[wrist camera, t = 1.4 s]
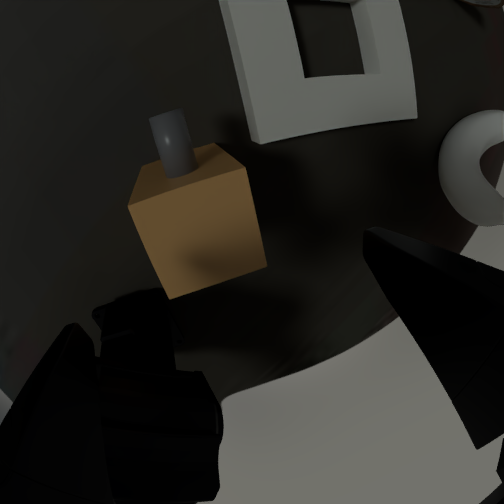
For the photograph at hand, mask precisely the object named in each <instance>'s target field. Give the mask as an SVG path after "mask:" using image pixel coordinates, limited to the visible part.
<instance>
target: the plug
mask: <svg viewBox="0 0 504 504" xmlns="http://www.w3.org/2000/svg"><path fill="white" fill-rule="evenodd" d="M149 121H150V125H151V128H152V132H153V135H154V139H155V142H156V145H157V149H158V152H159V155H160V158H161V160H158V161H155V162H152V163H150V164H147V165H144V166H142V168H141V171H140V173H139V176H138V179H137V181H136V184H135V187H134V190H133V192H132V195H131V198H130V201H129V204H128V208H129V211H130V213H131V216H132V218H133V221H134V223H135V225H136V228H137V230H138V233H139V235H140V237H141V240H142V242H143V244H144V246H145V249H146V251H147V253H148V256H149V258H150V260H151V262H152V264H153V266H154V269H155V271H156V273H157V275H158V277H159V279H160V281H161V283H162V286H163V288H164V290H165V292H166V294H167V296H168V298H169V300H170V299H173V298H176V297H179V296H182V295H185V294H188V293H191V292H194V291H197V290H200V289H203V288H206V287H209V286H212V285H215V284H218V283H221V282H224V281H226V280H229V279H232V278H235V277H238V276H241V275H244V274H247V273H250V272H253V271H256V270H258V269H261V268H264V267H267V263H266V258H265V253H264V249H263V244H262V239H261V235H260V230H259V226H258V221H257V216H256V212H255V207H254V203H253V198H252V194H251V189H250V185H249V180H248V176H247V171H246V167H244V166H243V165H242V164H241V163H239V162H238V161H237V160H236V159H234V158H233V157H232V156H231V155H229V154H228V153H227V152H225V151H224V150H223V149H222V148H220V147H219V146H218V145H216V144H215V143H212V144H209V145H205V146H202V147H198V148H195V149H193V146H192V142H191V139H190V135H189V131H188V128H187V124H186V120H185V116H184V113H183V109H182V108H180V109H176V110H173V111H169V112H166V113H163V114H160V115H157V116H154V117H151V118H149Z"/></svg>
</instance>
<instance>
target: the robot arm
mask: <svg viewBox="0 0 504 504" xmlns="http://www.w3.org/2000/svg"><path fill="white" fill-rule="evenodd" d="M363 256H364V259H365V261H366V263H367V264H368V266H369V268H370V269H371V271H372V273H373V275H374V276H375V278H376V280H377V282H378V283H379V285H380V287H381V289H382V291H383V292H384V294H385V296H386V297H387V299H388V300H389V302H390V303H391V305H392V306H393V308H394V309H395V311H396V312H397V314H398V315H399V317H400V318H401V320H402V321H403V323H404V324H405V326H406V327H407V329H408V330H409V332H410V333H411V335H412V336H413V338H414V339H415V341H416V342H417V344H418V346H419V347H420V349H421V350H422V352H423V353H424V355H425V356H426V358H427V360H428V361H429V363H430V365H431V367H432V368H433V370H434V371H435V373H436V375H437V377H438V378H439V380H440V382H441V383H442V385H443V387H444V389H445V390H446V392H447V394H448V396H449V397H450V399H451V400H452V403H453V405H454V407H455V409H456V411H457V413H458V414H459V416H460V418H461V420H462V422H463V424H464V426H465V428H466V430H467V432H468V434H469V436H470V438H471V440H472V442H473V444H474V446H475V448H476V449H480V448H481V447H483V446H485V445H486V444H488V443H490V442H491V441H493V440H494V439H496V438H498V437H499V436H501V435H502V434H504V271H502V270H499V269H497V268H494V267H492V266H489V265H486V264H484V263H481V262H476V261H475V260H473V259H471V258H468V257H465V256H463V255H460V254H457V253H454V252H452V251H449V250H446V249H443V248H441V247H438V246H435V245H432V244H429V243H426V242H423V241H420V240H417V239H414V238H411V237H408V236H405V235H402V234H399V233H396V232H393V231H390V230H387V229H383V228H380V227H372V228H369V229H366V230H365V231H364V234H363ZM152 295H157V296H156V297H154V296H152ZM96 314H99V315H96ZM92 317H93V319H94V320H95V322H96V323H97V325H98V326H99V327H100V329H101V330H102V332H101V339H100V340H101V342H102V344H101V352H100V357H96V356H95V352H94V344H93V341H92V339H91V338H90V337H89V336H88V334H87V333H86V332H85V331H84V330H83V328H82V327H81V326H80V325H79V324H78V323H72V324H69V325H66V326H65V327H64V328H63V330H62V331H61V332H60V334H59V335H58V336H57V338H56V339H55V341H54V342H53V343H52V345H51V346H50V348H49V349H48V350H47V352H46V353H45V355H44V356H43V357H42V359H41V360H40V362H39V363H38V365H37V366H36V368H35V369H34V371H33V372H32V374H31V375H30V377H29V378H28V380H27V381H26V383H25V385H24V386H23V388H22V389H21V391H20V393H19V394H18V396H17V397H16V399H15V401H14V402H13V404H12V406H11V409H9V411H8V413H7V414H6V416H5V418H4V419H3V421H2V423H1V425H0V504H196V503H197V502H204V501H213V500H214V499H215V497H216V495H217V492H218V491H219V488H220V481H219V470H218V454H219V446H220V443H221V441H222V437H223V428H224V427H223V426H224V425H223V415H222V410H221V407H220V405H219V403H218V401H217V399H216V397H215V395H214V393H213V392H212V390H211V388H210V386H209V384H208V382H207V380H206V378H205V376H204V375H203V373H202V371H194V372H190V371H181V370H176V364H175V357H174V349H173V347H176V346H180V345H182V344H184V343H185V339H184V336H183V334H182V332H181V331H180V329H179V327H178V325H177V323H176V321H175V319H174V318H173V316H172V314H171V312H170V310H169V308H168V306H167V304H166V302H165V300H164V298H163V296H162V294H161V293H160V291H159V290H157V289H153V290H150V291H147V292H144V293H141V294H138V295H135V296H129V297H126V298H123V299H120V300H117V301H114V302H111V303H108V304H107V305H105V306H102V307H99V308H96V309H94V310H93V311H92ZM496 471H497V473H498V475H499V477H500V479H501V481H502V483H501V484H500V485H499V486H498V487H497V488H496V489H495V490H494V491H493V492H492V493H491V494H490V495H489V496H488V497H486V498H485V499H484V500H483V501H482V502H481V503H479V504H504V438H503V442H502V448H501V452H500V458H499V462H498V466H497V470H496Z"/></svg>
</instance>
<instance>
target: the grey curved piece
mask: <svg viewBox="0 0 504 504" xmlns="http://www.w3.org/2000/svg"><path fill="white" fill-rule="evenodd" d="M502 141H504V111H501V110H485V111H481V112H477V113H473V114H471V115H469V116H466V117H465V118H463V119H461V120H460V121H459V122H457V123H456V124H455V125H454V126H453V127H452V128H451V129H450V131H449V132H448V133H447V135H446V136H445V138H444V140H443V142H442V145H441V148H440V152H439V160H438V172H439V180H440V184H441V187H442V189H443V192H444V194H445V195H446V197H447V199H448V200H449V202H450V203H451V205H452V206H453V208H454V209H455V210H456V211H457V212H458V213H459V214H460V215H461V216H462V217H464V218H465V219H467V220H468V221H470V222H472V223H474V224H476V225H480V226H495V225H504V198H503V197H502V196H501V195H500V194H499V193H498V192H497V191H496V190H495V189H494V188H493V187H492V185H491V184H490V183H489V182H488V181H487V180H486V179H485V177H484V176H483V174H482V172H481V169H480V165H479V161H480V157H481V155H482V154H483V153H484V152H485V151H486V150H487V149H488V148H489V147H491V146H492V145H495V144H497V143H500V142H502Z"/></svg>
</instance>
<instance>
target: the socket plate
mask: <svg viewBox="0 0 504 504" xmlns="http://www.w3.org/2000/svg"><path fill="white" fill-rule="evenodd" d="M322 1H336V2H346V3H350V6H351V10H352V14H353V18H354V22H355V26H356V31H357V35H358V40H359V45H360V50H361V55H362V61H363V67H364V73H365V75H339V76H325V77H314V78H304V73H303V68H302V63H301V58H300V54H299V49H298V44H297V40H296V36H295V31H294V27H293V23H292V19H291V15H290V11H289V7H288V4H287V0H219V4H220V8H221V12H222V16H223V20H224V24H225V28H226V32H227V36H228V40H229V44H230V48H231V53H232V57H233V61H234V65H235V70H236V74H237V78H238V82H239V87H240V91H241V96H242V100H243V104H244V109H245V113H246V118H247V122H248V127H249V131H250V136H251V140H252V141H254V142H256V143H258V144H264V143H268V142H273V141H277V140H281V139H286V138H290V137H295V136H300V135H305V134H310V133H315V132H320V131H325V130H331V129H337V128H343V127H349V126H355V125H362V124H369V123H377V122H385V121H394V120H403V119H414V118H417V105H416V94H415V84H414V76H413V69H412V62H411V56H410V50H409V44H408V39H407V34H406V30H405V25H404V21H403V16H402V12H401V8H400V5H399V1H398V0H322Z"/></svg>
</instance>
